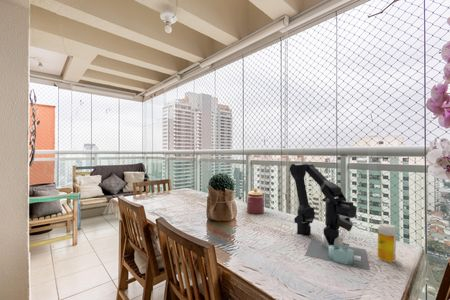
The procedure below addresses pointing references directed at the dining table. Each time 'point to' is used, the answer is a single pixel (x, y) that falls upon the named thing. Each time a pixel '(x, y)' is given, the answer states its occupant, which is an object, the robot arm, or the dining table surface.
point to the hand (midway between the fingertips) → (332, 244)
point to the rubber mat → (322, 253)
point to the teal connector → (342, 255)
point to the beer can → (386, 242)
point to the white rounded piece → (337, 241)
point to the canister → (255, 202)
